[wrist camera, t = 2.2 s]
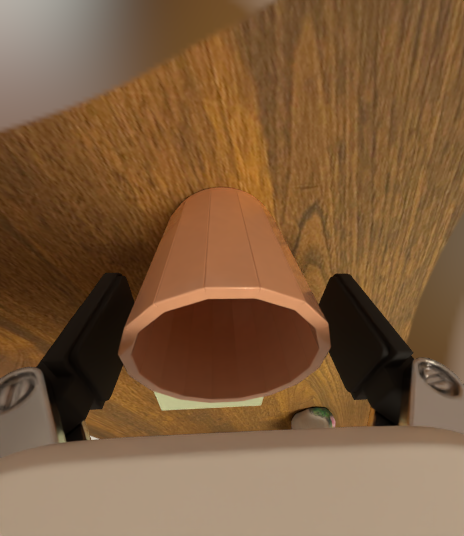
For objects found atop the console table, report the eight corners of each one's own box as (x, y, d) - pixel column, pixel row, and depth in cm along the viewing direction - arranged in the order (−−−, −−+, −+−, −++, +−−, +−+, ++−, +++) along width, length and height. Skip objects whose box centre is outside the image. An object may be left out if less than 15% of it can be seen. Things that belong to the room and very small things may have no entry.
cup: (159, 185, 11) (81, 288, 5) (284, 188, 12) (368, 286, 5) (174, 281, 15) (145, 406, 9) (266, 281, 16) (301, 398, 9)
